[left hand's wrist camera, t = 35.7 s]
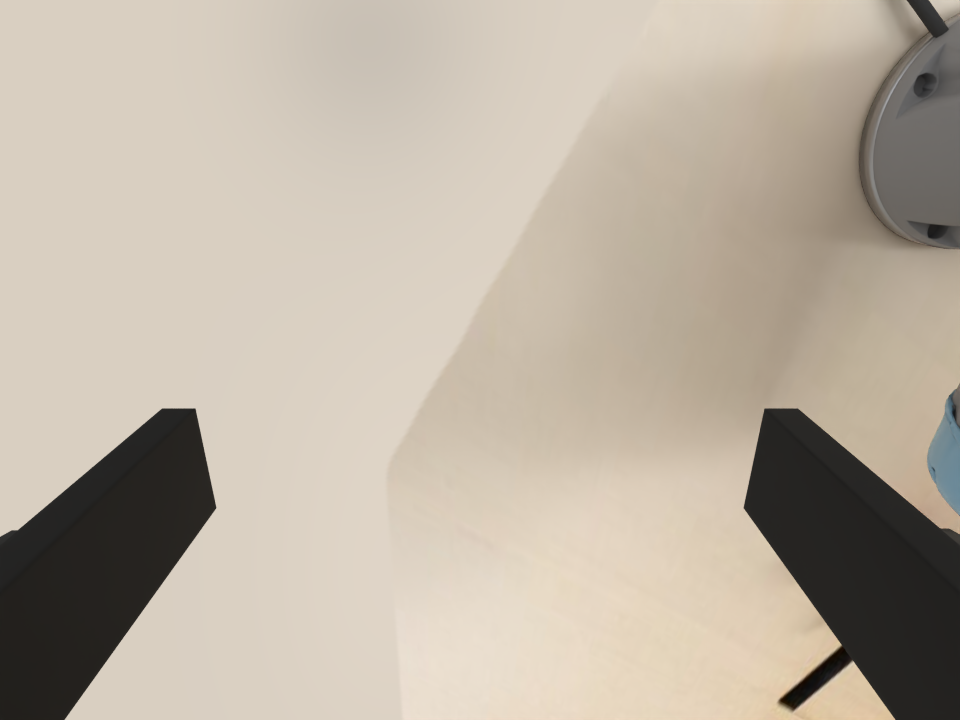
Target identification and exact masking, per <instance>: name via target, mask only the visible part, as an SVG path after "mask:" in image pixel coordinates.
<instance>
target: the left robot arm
mask: <svg viewBox="0 0 960 720" xmlns="http://www.w3.org/2000/svg"><path fill="white" fill-rule="evenodd" d="M907 1H908V2H909V4H910V5H911V6H912V8H913V9H914V11H915V12H916V13H917V15H918V16H919V18H920V19H921V20H922V22H923V23H924V25H925V26H926V27H927V29H928V30H929V33H928V34H927V35H925V36H924V37H923V38H922V39H920V40H919V41H918V42H917V43H916V44H915V45H914V46H913V47H912V48H911V49H910V50H909V51H908V52H907V53H906V54H905V55H904V56H903V57H902V58H901V60H900V61H899V62H898V63H897V65H896V66H895V67H894V68H893V70H892V71H891V73H890V74H889V75H888V77H887V78H886V80H885V81H884V83H883V85H882V86H881V88H880V90H879V92H878V93H877V95H876V98H875V100H874V102H873V104H872V106H871V108H870V111H869V114H868V116H867V119H866V123H865V126H864V129H863V134H862V139H861V145H860V159H859V166H860V177H861V182H862V187H863V190H864V193H865V196H866V198H867V201H868V203H869V205H870V207H871V208H872V210H873V212H874V213H875V215H876V216H877V217H878V218H879V220H880V221H881V222H882V223H883V224H884V225H885V226H886V227H888V228H889V229H890V230H892V231H893V232H894V233H896V234H898V235H899V236H901V237H903V238H906V239H908V240H910V241H914V242H917V243H920V244H925V245H929V246H933V247H939V248H946V249H960V14H957V15H955V16H954V17H952V18H950V19H948V20H947V21H945V22H944V21H943V20H942V18H941V17H940V16H939V14H938V13H937V11H936V10H935V8H934V7H933V6H932V4H931V3H930V1H929V0H907ZM927 464H928V469H929V472H930V474H931V477H932V479H933V481H934V482H935V483H936V485H937V488H938V491H939V492H940V494H941V495H942V496H943V498H944V499H945V500H946V502H947V503H948V504H949V505H950V506H951V507H952V508H953V509H954V511H955V512H956V513H957V514H958V515H959V516H960V384H959V386H958V388H957V389H955V390H954V391H953V392H952V393H951V395H949V397H948V399H947V400H946V404H945V414H944V417H943V419H942V421H941V423H940V426H939V428H938V430H937V432H936V434H935V436H934V438H933V440H932V442H931V444H930V447H929V450H928V455H927ZM215 509H216V504H215V499H214V495H213V490H212V485H211V480H210V476H209V471H208V466H207V461H206V457H205V452H204V447H203V443H202V438H201V433H200V428H199V423H198V419H197V414H196V409H161V410H160V411H159V412H158V413H156V414H155V415H154V416H153V417H152V418H150V419H149V420H148V421H147V422H146V423H145V424H143V425H142V426H141V427H140V428H139V429H137V430H136V431H135V432H134V433H133V434H132V435H130V436H129V437H128V438H127V439H126V440H124V441H123V442H122V443H121V444H120V445H118V446H117V447H116V448H115V449H114V450H113V451H111V452H110V453H109V454H108V455H107V456H105V457H104V458H103V459H102V460H101V461H99V462H98V463H97V464H96V465H95V466H94V467H92V468H91V469H90V470H89V471H88V472H86V473H85V474H84V475H83V476H82V477H81V478H79V479H78V480H77V481H76V482H75V483H73V484H72V485H71V486H70V487H69V488H68V489H66V490H65V491H64V492H63V493H62V494H60V495H59V496H58V497H57V498H56V499H54V500H53V501H52V502H51V503H50V504H49V505H47V506H46V507H45V508H44V509H43V510H41V511H40V512H39V513H38V514H37V515H35V516H34V517H33V518H32V519H31V520H30V521H28V522H27V523H26V524H25V525H24V526H22V527H21V528H20V529H19V530H15V531H14V530H12V531H10V532H8V533H6V534H5V535H3V536H1V537H0V720H65V718H66V717H67V715H68V714H69V713H70V711H71V710H72V708H73V707H74V706H75V704H76V703H77V702H78V700H79V699H80V697H81V696H82V695H83V693H84V692H85V690H86V689H87V688H88V686H89V685H90V683H91V682H92V681H93V679H94V678H95V676H96V675H97V674H98V672H99V671H100V669H101V668H102V667H103V665H104V664H105V662H106V661H107V660H108V658H109V657H110V655H111V654H112V653H113V651H114V650H115V648H116V647H117V646H118V644H119V643H120V642H121V640H122V639H123V637H124V636H125V635H126V633H127V632H128V630H129V629H130V628H131V626H132V625H133V623H134V622H135V621H136V619H137V618H138V616H139V615H140V614H141V612H142V611H143V610H144V608H145V607H146V605H147V604H148V603H149V601H150V600H151V598H152V597H153V596H154V594H155V593H156V591H157V590H158V589H159V587H160V586H161V584H162V583H163V582H164V580H165V579H166V577H167V576H168V575H169V573H170V572H171V570H172V569H173V568H174V566H175V565H176V564H177V562H178V561H179V559H180V558H181V557H182V555H183V554H184V552H185V551H186V550H187V548H188V547H189V545H190V544H191V543H192V541H193V540H194V538H195V537H196V536H197V534H198V533H199V531H200V530H201V529H202V527H203V526H204V524H205V523H206V522H207V520H208V519H209V518H210V516H211V515H212V513H213V512H214V511H215ZM744 509H745V511H746V512H747V513H748V515H749V516H750V518H751V519H752V520H753V522H754V523H755V524H756V526H757V527H758V529H759V530H760V531H761V533H762V534H763V536H764V537H765V538H766V540H767V541H768V543H769V544H770V545H771V547H772V548H773V550H774V551H775V552H776V554H777V555H778V557H779V558H780V559H781V561H782V562H783V564H784V565H785V566H786V568H787V569H788V570H789V572H790V573H791V575H792V576H793V577H794V579H795V580H796V582H797V583H798V584H799V586H800V587H801V589H802V590H803V591H804V593H805V594H806V596H807V597H808V598H809V600H810V601H811V603H812V604H813V605H814V607H815V608H816V610H817V611H818V612H819V614H820V615H821V616H822V618H823V619H824V621H825V622H826V623H827V625H828V626H829V628H830V629H831V630H832V632H833V633H834V635H835V636H836V637H837V639H838V640H839V642H840V643H841V644H842V646H843V647H844V649H845V650H846V651H847V653H848V654H849V656H850V657H851V658H852V660H853V661H854V662H855V664H856V665H857V667H858V668H859V669H860V671H861V672H862V674H863V675H864V676H865V678H866V679H867V681H868V682H869V683H870V685H871V686H872V688H873V689H874V690H875V692H876V693H877V695H878V696H879V697H880V699H881V700H882V702H883V703H884V704H885V706H886V707H887V708H888V710H889V711H890V713H891V714H892V715H893V717H894V718H895V720H960V534H958V533H956V532H954V531H952V530H951V529H940V528H939V527H938V526H936V525H935V524H934V523H933V522H932V521H930V520H929V519H928V518H927V517H926V516H925V515H923V514H922V513H921V512H920V511H919V510H917V509H916V508H915V507H914V506H913V505H911V504H910V503H909V502H908V501H907V500H906V499H904V498H903V497H902V496H901V495H900V494H898V493H897V492H896V491H895V490H894V489H893V488H891V487H890V486H889V485H888V484H887V483H885V482H884V481H883V480H882V479H881V478H879V477H878V476H877V475H876V474H875V473H874V472H872V471H871V470H870V469H869V468H868V467H866V466H865V465H864V464H863V463H862V462H861V461H859V460H858V459H857V458H856V457H855V456H853V455H852V454H851V453H850V452H849V451H847V450H846V449H845V448H844V447H843V446H842V445H840V444H839V443H838V442H837V441H836V440H834V439H833V438H832V437H831V436H830V435H829V434H827V433H826V432H825V431H824V430H823V429H821V428H820V427H819V426H818V425H817V424H815V423H814V422H813V421H812V420H811V419H810V418H808V417H807V416H806V415H805V414H804V413H802V412H801V411H800V410H799V409H764V414H763V419H762V423H761V428H760V433H759V438H758V442H757V447H756V452H755V457H754V461H753V466H752V471H751V476H750V480H749V485H748V490H747V495H746V499H745V504H744Z"/></svg>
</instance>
